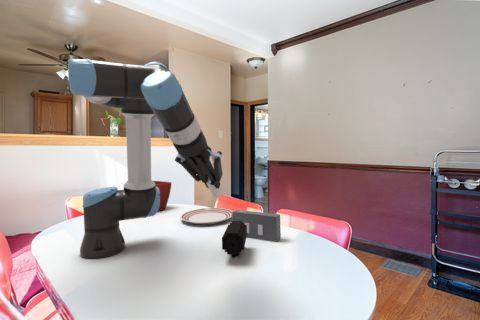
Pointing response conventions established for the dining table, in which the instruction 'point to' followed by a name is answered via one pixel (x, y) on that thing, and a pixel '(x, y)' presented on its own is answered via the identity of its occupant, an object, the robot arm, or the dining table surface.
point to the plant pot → (163, 193)
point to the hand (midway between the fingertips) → (217, 193)
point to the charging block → (259, 224)
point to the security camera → (234, 238)
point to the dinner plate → (207, 216)
